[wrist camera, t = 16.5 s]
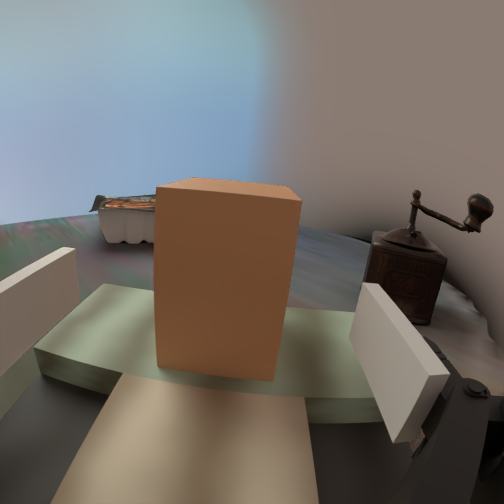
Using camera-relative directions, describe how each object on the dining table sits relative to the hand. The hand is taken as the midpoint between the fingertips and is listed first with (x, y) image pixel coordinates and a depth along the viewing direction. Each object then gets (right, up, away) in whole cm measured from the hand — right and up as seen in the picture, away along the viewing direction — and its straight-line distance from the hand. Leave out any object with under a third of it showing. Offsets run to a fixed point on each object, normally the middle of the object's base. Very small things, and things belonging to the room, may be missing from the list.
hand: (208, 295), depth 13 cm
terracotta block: (-1, -5, +12) cm, 13 cm away
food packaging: (-20, +6, +53) cm, 57 cm away
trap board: (-1, -12, 0) cm, 12 cm away
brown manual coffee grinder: (+24, -7, +27) cm, 37 cm away
